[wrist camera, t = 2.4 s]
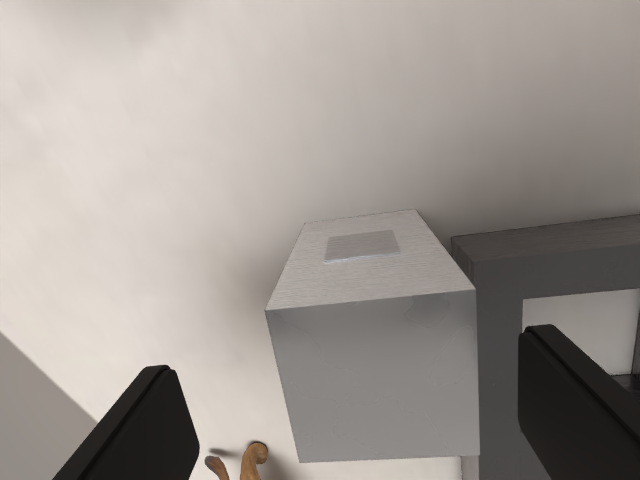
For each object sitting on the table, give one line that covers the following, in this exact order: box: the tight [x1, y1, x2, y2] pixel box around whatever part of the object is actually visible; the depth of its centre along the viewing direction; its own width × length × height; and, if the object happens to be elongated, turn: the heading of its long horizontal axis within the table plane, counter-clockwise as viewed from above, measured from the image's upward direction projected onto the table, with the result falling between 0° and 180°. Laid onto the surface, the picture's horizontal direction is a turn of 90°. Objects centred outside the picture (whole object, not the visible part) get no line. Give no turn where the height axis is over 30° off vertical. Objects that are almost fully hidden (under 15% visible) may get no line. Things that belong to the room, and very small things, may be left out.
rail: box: [451, 214, 640, 480], centre depth 17 cm, size 10×20×3 cm, turn 9°
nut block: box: [265, 209, 480, 463], centre depth 13 cm, size 5×5×8 cm
